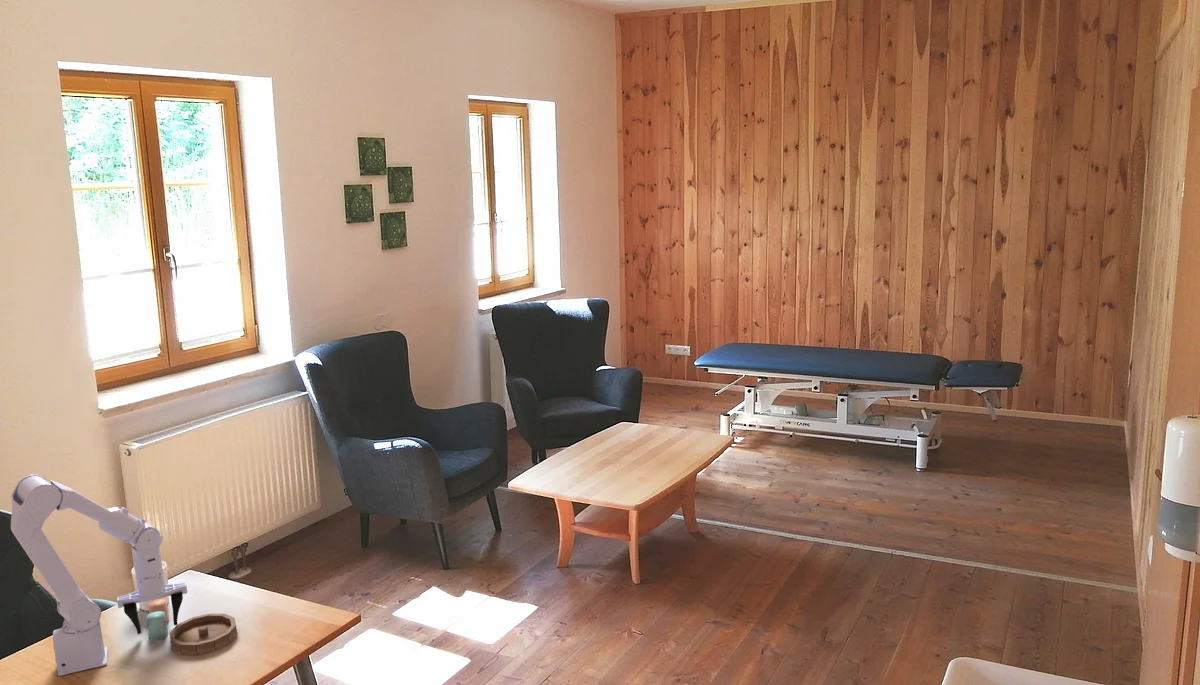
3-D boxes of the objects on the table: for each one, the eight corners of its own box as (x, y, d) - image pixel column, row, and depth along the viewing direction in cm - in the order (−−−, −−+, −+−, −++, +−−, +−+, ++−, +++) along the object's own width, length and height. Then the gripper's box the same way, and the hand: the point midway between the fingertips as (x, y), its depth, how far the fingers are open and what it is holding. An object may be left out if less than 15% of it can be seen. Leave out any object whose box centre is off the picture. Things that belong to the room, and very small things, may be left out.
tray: (172, 661, 212) (170, 650, 211) (170, 632, 224) (168, 622, 224) (239, 644, 218) (238, 634, 217) (233, 617, 230) (232, 608, 230)
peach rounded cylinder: (151, 628, 227) (148, 608, 225) (150, 620, 230) (147, 601, 229) (169, 624, 228) (166, 604, 227) (168, 616, 232) (166, 597, 231)
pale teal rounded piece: (149, 641, 221) (146, 621, 220) (148, 633, 224) (145, 613, 223) (168, 637, 222) (165, 617, 221) (167, 629, 226) (164, 609, 225)
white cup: (158, 613, 233) (152, 575, 231) (129, 611, 235) (124, 573, 233) (178, 597, 241) (173, 561, 239) (150, 595, 243) (145, 559, 240)
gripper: (182, 559, 226) (190, 612, 229) (114, 573, 220) (123, 627, 223) (184, 571, 220) (192, 625, 223) (114, 586, 214) (122, 641, 217)
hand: (157, 627), depth 223 cm, fingers open, 7 cm apart
